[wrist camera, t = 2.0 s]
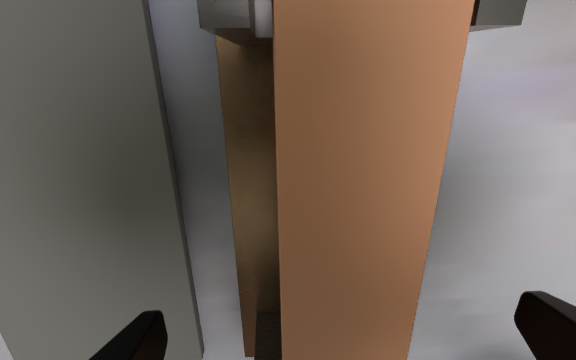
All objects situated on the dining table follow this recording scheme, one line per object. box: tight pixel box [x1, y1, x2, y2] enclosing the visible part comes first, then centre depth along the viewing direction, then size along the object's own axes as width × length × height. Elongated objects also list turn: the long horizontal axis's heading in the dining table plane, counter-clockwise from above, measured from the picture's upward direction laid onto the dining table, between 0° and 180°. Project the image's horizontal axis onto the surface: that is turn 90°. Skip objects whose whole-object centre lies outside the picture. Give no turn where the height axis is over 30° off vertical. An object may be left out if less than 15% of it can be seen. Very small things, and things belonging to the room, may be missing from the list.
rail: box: [272, 0, 475, 360], centre depth 8 cm, size 20×3×3 cm, turn 1°
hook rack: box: [197, 0, 527, 360], centre depth 11 cm, size 19×7×8 cm, turn 1°
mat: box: [0, 0, 204, 360], centre depth 14 cm, size 20×10×1 cm, turn 1°
